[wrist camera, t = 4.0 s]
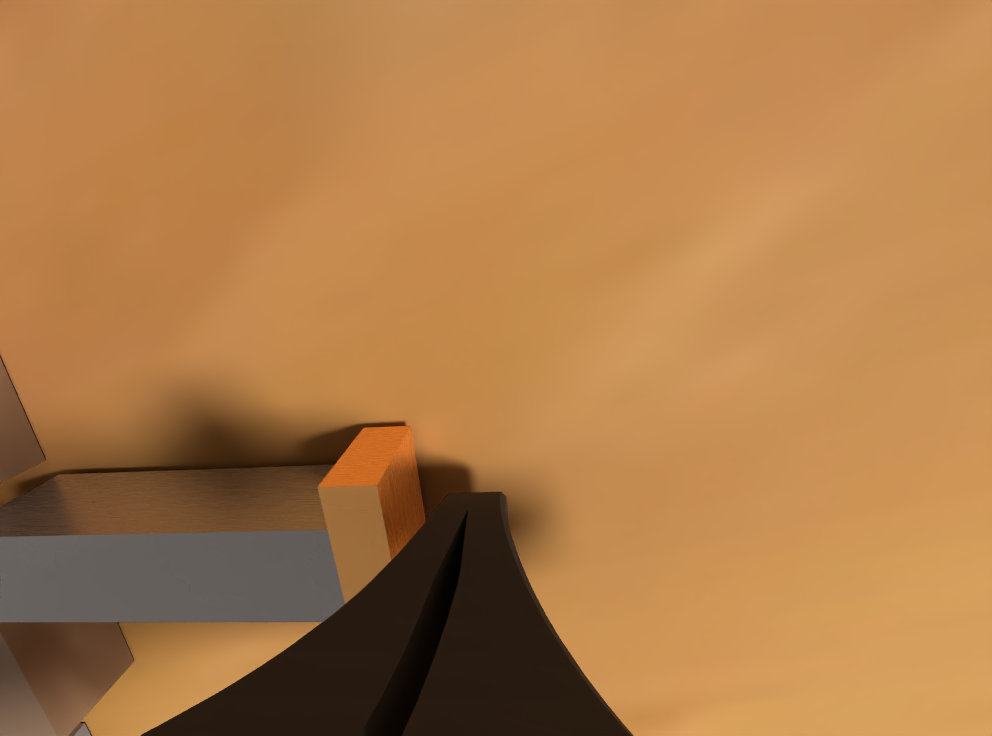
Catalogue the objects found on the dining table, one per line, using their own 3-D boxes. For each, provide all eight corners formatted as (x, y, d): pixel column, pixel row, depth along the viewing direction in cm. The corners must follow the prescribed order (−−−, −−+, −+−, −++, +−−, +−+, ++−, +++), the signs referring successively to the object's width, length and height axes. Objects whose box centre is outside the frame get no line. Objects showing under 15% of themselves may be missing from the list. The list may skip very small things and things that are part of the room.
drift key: (433, 570, 13) (409, 656, 10) (102, 574, 14) (8, 653, 11) (410, 425, 11) (377, 484, 9) (44, 442, 12) (-78, 499, 10)
